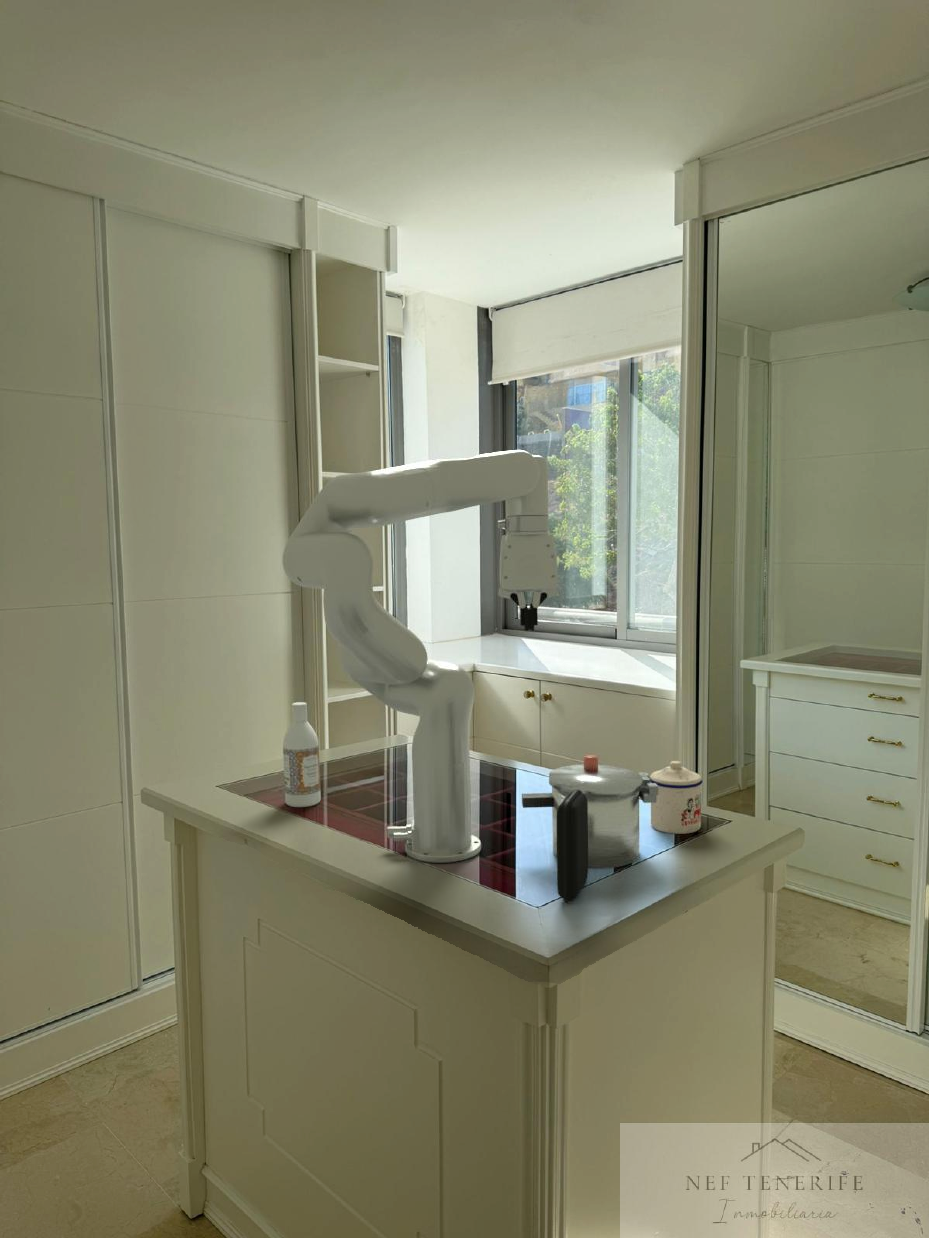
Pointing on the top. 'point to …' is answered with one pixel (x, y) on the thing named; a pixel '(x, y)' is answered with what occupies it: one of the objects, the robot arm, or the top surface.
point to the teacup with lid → (676, 800)
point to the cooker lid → (597, 779)
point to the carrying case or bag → (572, 845)
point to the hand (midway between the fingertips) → (529, 629)
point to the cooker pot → (604, 823)
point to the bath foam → (301, 760)
